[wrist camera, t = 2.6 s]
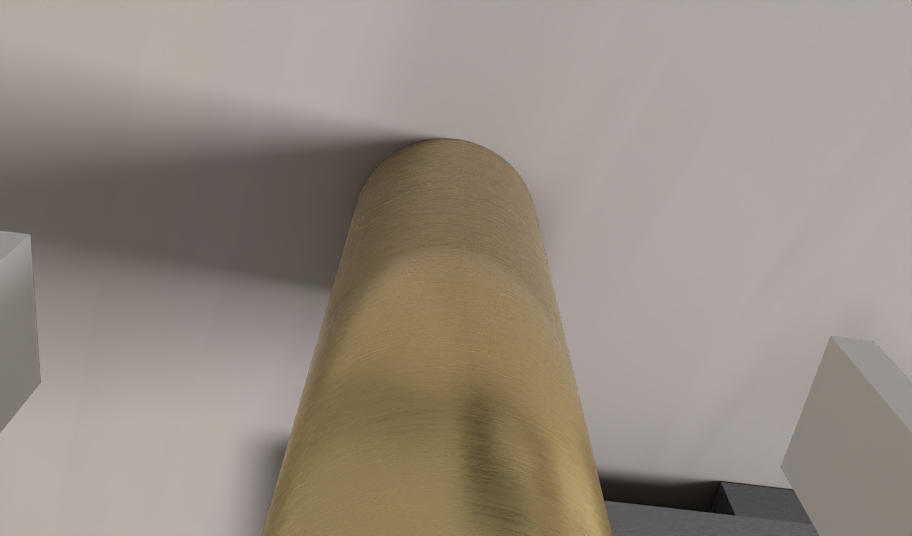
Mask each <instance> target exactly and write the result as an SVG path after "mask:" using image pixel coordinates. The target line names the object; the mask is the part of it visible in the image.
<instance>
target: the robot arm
mask: <svg viewBox="0 0 912 536" xmlns="http://www.w3.org/2000/svg"><path fill="white" fill-rule="evenodd" d="M40 383H41V378H40V364H39V350H38V335H37V321H36V307H35V293H34V278H33V264H32V250H31V235H30V234H22V233H14V232H6V231H0V433H1V431H2V430H3V429H4V428H5V426H6V425H7V424H8V423H9V421H10V420H11V419H12V418H13V416H14V415H15V414H16V413H17V411H18V410H19V409H20V408H21V406H22V405H23V404H24V403H25V401H26V400H27V399H28V398H29V396H30V395H31V394H32V393H33V391H34V390H35V389H36V388H37V386H38V385H39V384H40ZM781 469H782V470H783V472H784V474H785V476H786V477H787V479H788V481H789V483H790V484H791V486H792V488H793V490H794V491H795V493H796V495H797V497H798V499H799V500H800V502H801V504H802V506H803V507H804V509H805V511H806V513H807V514H808V516H809V518H810V520H811V521H812V523H813V525H814V527H815V529H816V530H817V532H818V534H819V536H912V382H911V381H910V380H909V379H908V378H907V377H906V375H905V374H904V373H903V372H902V371H901V370H900V369H899V368H898V367H897V366H896V365H895V364H894V362H893V361H892V360H891V359H890V358H889V357H888V356H887V355H886V354H885V353H884V352H883V350H882V349H881V348H880V347H879V346H878V345H877V344H876V343H875V342H874V341H866V340H858V339H851V338H843V337H835V336H831V337H830V339H829V342H828V344H827V347H826V350H825V352H824V355H823V358H822V360H821V363H820V365H819V368H818V371H817V373H816V376H815V379H814V381H813V384H812V387H811V389H810V392H809V394H808V397H807V400H806V402H805V405H804V408H803V410H802V413H801V415H800V418H799V421H798V423H797V426H796V429H795V431H794V434H793V436H792V439H791V442H790V444H789V447H788V450H787V452H786V455H785V457H784V460H783V463H782V465H781Z"/></svg>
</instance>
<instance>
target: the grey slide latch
mask: <svg viewBox="0 0 912 536" xmlns="http://www.w3.org/2000/svg"><path fill="white" fill-rule="evenodd" d="M604 503H605V507H606V511H607V515H608V519H609V524H610V528H611V532H612V536H819V534H818V532H817V530H816V529H815V527H814V525H813V523H812V521H811V520H810V518H809V516H808V514H807V513H806V511H805V509H804V507H803V506H802V504H801V502H800V500H799V499H798V497H797V495H796V493H795V491H794V490H786V489H778V488H769V487H761V486H752V485H743V484H735V483H726V482H721V483H720V486H719V489H718V492H717V495H716V497H715V500H714V503H713V506H712V509H711V511H710V513H708V512H703V511H698V510H689V509H681V508H672V507H663V506H654V505H646V504H637V503H628V502H619V501H611V500H604Z"/></svg>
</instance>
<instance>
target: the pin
mask: <svg viewBox="0 0 912 536" xmlns="http://www.w3.org/2000/svg"><path fill="white" fill-rule="evenodd" d="M262 536H612V532H611V528H610V524H609V519H608V515H607V511H606V507H605V503H604V498H603V494H602V490H601V486H600V482H599V477H598V473H597V469H596V465H595V461H594V456H593V452H592V448H591V444H590V439H589V435H588V431H587V427H586V423H585V418H584V414H583V410H582V406H581V402H580V397H579V393H578V389H577V385H576V381H575V376H574V372H573V368H572V364H571V360H570V355H569V351H568V347H567V343H566V339H565V334H564V330H563V326H562V322H561V318H560V313H559V309H558V305H557V301H556V297H555V292H554V288H553V284H552V280H551V276H550V271H549V267H548V263H547V259H546V255H545V250H544V246H543V242H542V238H541V234H540V229H539V225H538V221H537V217H536V213H535V208H534V204H533V201H532V198H531V195H530V193H529V190H528V188H527V186H526V184H525V183H524V181H523V180H522V178H521V176H520V175H519V174H518V173H517V171H516V170H515V169H514V168H513V167H512V166H511V165H510V164H509V163H508V162H507V161H505V160H504V159H503V158H502V157H500V156H499V155H497V154H496V153H494V152H493V151H491V150H489V149H487V148H485V147H483V146H480V145H477V144H474V143H471V142H467V141H462V140H456V139H433V140H427V141H422V142H418V143H415V144H412V145H409V146H407V147H405V148H403V149H401V150H398V151H397V152H395V153H394V154H392V155H391V156H389V157H388V158H387V159H385V160H384V161H383V162H382V163H381V164H379V166H378V167H377V168H376V169H375V170H374V171H373V172H372V173H371V175H370V176H369V178H368V179H367V181H366V182H365V184H364V186H363V188H362V190H361V192H360V195H359V198H358V201H357V204H356V208H355V211H354V215H353V218H352V222H351V225H350V229H349V232H348V236H347V239H346V242H345V246H344V249H343V253H342V256H341V260H340V263H339V267H338V270H337V274H336V277H335V281H334V284H333V288H332V291H331V295H330V298H329V302H328V305H327V309H326V312H325V316H324V319H323V323H322V326H321V330H320V333H319V337H318V340H317V344H316V347H315V351H314V354H313V358H312V361H311V365H310V368H309V372H308V375H307V379H306V382H305V386H304V389H303V393H302V396H301V400H300V403H299V407H298V410H297V414H296V417H295V421H294V424H293V428H292V431H291V434H290V438H289V441H288V445H287V448H286V452H285V455H284V459H283V462H282V466H281V469H280V473H279V476H278V480H277V483H276V487H275V490H274V494H273V497H272V501H271V504H270V508H269V511H268V515H267V518H266V522H265V525H264V529H263V532H262Z"/></svg>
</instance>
